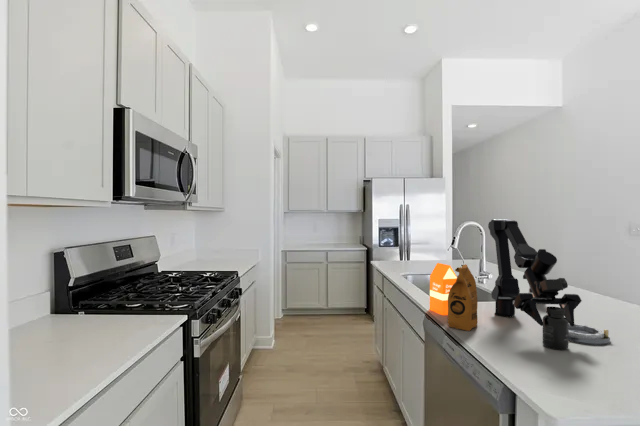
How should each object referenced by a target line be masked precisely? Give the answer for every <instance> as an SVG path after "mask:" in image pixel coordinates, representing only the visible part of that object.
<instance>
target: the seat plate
mask: <svg viewBox="0 0 640 426" xmlns="http://www.w3.org/2000/svg"><path fill="white" fill-rule="evenodd" d="M569 342H571V343H576V344H582V345H589V346H605V345H609V344H610V343H611V337H609V329H603V331H602V330H600V329H598V328H596V327H593V326H588V325H586V324H579V323H574V326H573V327H572V326H571V325H570V324H569Z"/></svg>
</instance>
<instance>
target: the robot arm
mask: <svg viewBox="0 0 640 426" xmlns="http://www.w3.org/2000/svg"><path fill="white" fill-rule="evenodd" d="M487 226H488V230H489V234H490V236H491V237H492V239H493V240H494V241H495V252H496V260H497V270H498V276H497V278H496V280H495V283H494V284H495V285H494V288H493V289H492V291H491V292H490V293H491V299H493V300H494V301H495V308H494V309H495V312H494V313H493V314H494V315H495V316H501V317H506V318H507V317H508V318H513V317H514V316H515V314H516V309H517V310H520V311H521V312H524V313H525V314H526V315H528V317H529V316H530V317H531V318H532V319H533V320H534V321H535V322H536V323H537V324H538V325H540V326H541V327H543V318H542V317H541V314H540V312H539V310H538V308H537V305H558V306H559V308H563V309H565V316H564V317H565V318H566V319H567V320H568V322H569V324H570V325H571V326H572V327H573V326H574V324H575V315H574V314H575V309H576V308H577V307H578V306H579V305H580V304H581V303H582V302H583V300H582V298H581V297H580V295H579V294H576V293H563V296H562V297H556V296H558V295H559V291H564V290H565V289H567V288H568V286H569V285H568V282H567V280H566V278H565V277H559V278H557V279H556V278H555V279H553V278H552V279H551V278H550V279H547V277H546V275H549V274H550V272H551V271H552V269H553V268H554V267H555V265H556V264H557V261H558V259H557V257H556V256H555V255H554V254H552V252H549V251H547V249H545V248H539V249H538V250H536V249H535V248H534V247H531V246H530V245H529V244H528V241H527V240H526V239H525V237H524V235H523V233H522V230H521V229H520V227H519V222H518V221H517V220H514V219H507V218H502V219H500V218H494V219H493V218H492V219H491V220H490V221H489V222H488V225H487ZM509 243H510V244H511V246H512V248H513V250H514V255H513V260H514V263H515V265H516V266H517V268H520V269H525V270H524V272H523V275H522V279H523V280H526V281H527V283H528V287H529V286H530V289H529V288H528V292H529V291H530V293H528V292H521V290H520V289H521V288H520V287H519V280H518V278H516V277H514V275H513V274H512V266H511V265H512V264H511V263H512V262H511V255H510V246H509V245H510V244H509ZM531 293H533V295H534V297H533V295H532V294H531Z"/></svg>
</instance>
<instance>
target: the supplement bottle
mask: <svg viewBox="0 0 640 426" xmlns="http://www.w3.org/2000/svg"><path fill="white" fill-rule="evenodd" d="M542 321H543V326H542V345H543V346H544V347H545V348H549V349H551V350H556V351H566V350H568V349H569V342H570V341H569V322H568V320H567V319H566V318H565V309H563V308H560V306H559V307H558V306H546V312H545V314H544V316H543V317H542Z"/></svg>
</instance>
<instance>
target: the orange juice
mask: <svg viewBox="0 0 640 426" xmlns="http://www.w3.org/2000/svg"><path fill="white" fill-rule="evenodd" d="M457 277H458V275H456V273H455V270H453V267H452V266H451V265H450V264H449V265H448V264H445V263H440V262H437V263H436V265H435V266H434V268H433V269H432V271H431V273H430V275H429V311H431V312H434V313H436V314H437V315H438V314H439V315H441V316H448V295H449V291H450V289H451V287H452V286H453V284H454V283H455V282H456V279H457Z"/></svg>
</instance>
